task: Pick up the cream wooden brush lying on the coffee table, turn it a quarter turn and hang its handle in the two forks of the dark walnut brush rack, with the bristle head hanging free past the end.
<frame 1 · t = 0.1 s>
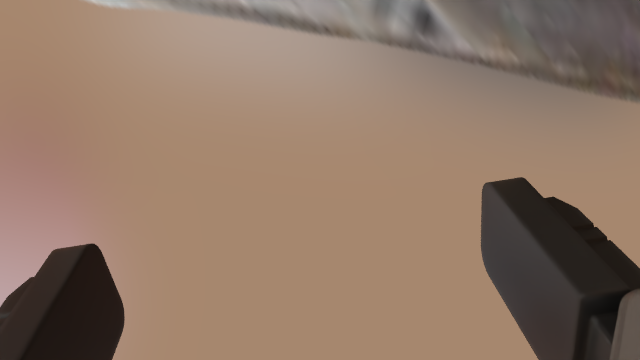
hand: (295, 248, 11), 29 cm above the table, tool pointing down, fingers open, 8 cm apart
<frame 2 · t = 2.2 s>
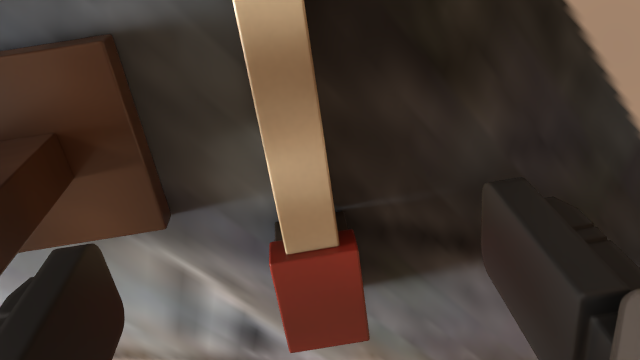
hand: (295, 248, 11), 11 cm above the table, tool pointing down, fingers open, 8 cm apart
brush: (292, 120, 21), on the table
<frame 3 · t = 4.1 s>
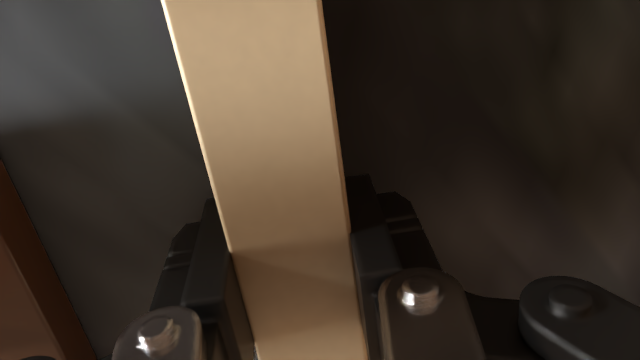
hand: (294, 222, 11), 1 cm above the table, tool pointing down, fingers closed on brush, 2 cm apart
brush: (304, 259, 13), on the table, touching gripper
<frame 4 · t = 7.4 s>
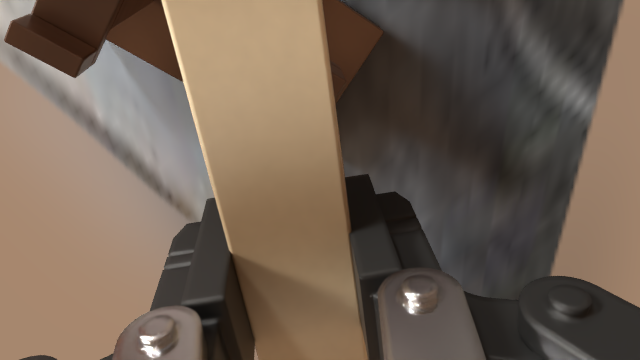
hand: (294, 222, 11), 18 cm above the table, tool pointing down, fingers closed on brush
brush: (304, 260, 13), point 18 cm above the table, touching gripper
rack: (241, 26, 27), on the table
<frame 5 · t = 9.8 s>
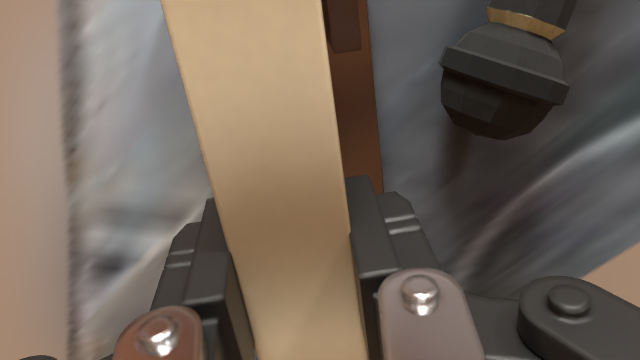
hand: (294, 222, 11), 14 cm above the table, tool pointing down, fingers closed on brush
brush: (304, 260, 13), point 14 cm above the table, touching gripper
rack: (291, 93, 25), on the table
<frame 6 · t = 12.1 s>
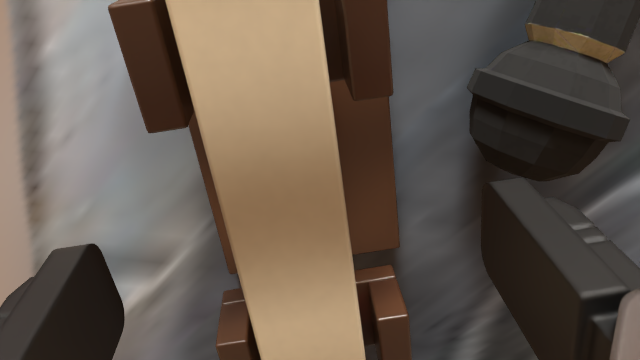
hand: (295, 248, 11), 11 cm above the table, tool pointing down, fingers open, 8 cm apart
brush: (302, 250, 13), point 9 cm above the table, touching rack
rack: (291, 121, 21), on the table
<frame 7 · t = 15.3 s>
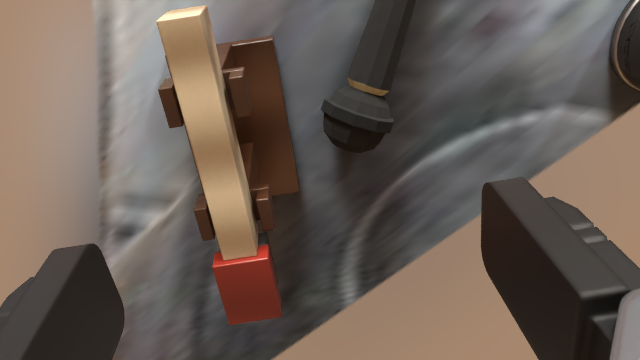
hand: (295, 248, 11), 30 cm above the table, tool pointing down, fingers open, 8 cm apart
brush: (228, 175, 33), point 9 cm above the table, touching rack
rack: (238, 123, 41), on the table
microphone: (390, 23, 38), on the table
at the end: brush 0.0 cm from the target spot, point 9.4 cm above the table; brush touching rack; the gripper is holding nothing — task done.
